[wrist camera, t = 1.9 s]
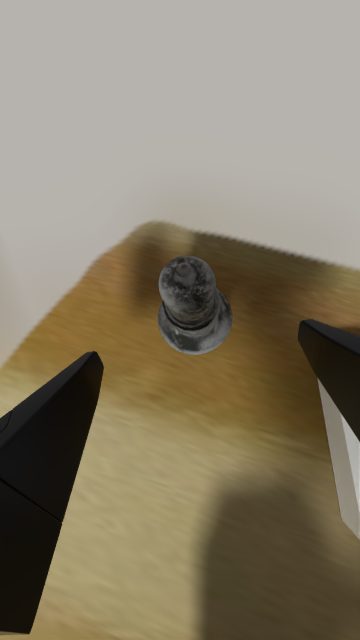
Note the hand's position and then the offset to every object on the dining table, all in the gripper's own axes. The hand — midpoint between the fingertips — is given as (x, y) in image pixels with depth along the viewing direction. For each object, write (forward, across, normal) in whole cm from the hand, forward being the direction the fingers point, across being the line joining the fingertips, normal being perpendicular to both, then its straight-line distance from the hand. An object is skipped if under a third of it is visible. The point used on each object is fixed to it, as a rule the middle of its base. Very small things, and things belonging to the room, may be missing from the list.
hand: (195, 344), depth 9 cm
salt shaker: (+10, 0, +5) cm, 11 cm away
